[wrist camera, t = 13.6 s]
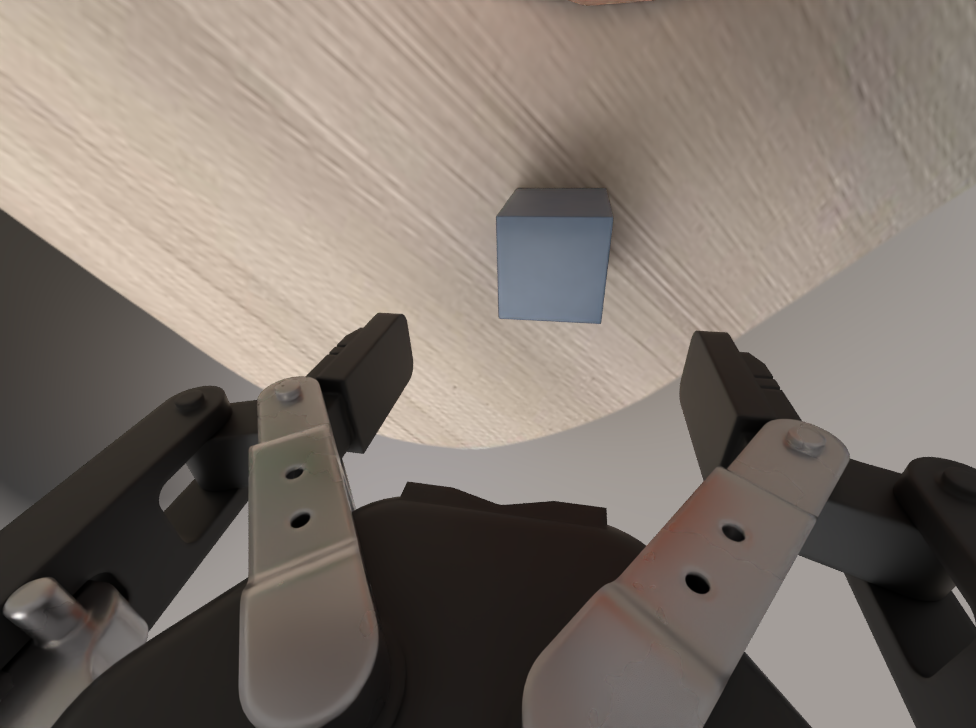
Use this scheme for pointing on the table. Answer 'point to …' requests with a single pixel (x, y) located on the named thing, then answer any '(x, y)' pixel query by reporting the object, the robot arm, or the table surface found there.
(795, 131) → the table surface
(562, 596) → the robot arm
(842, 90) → the table surface
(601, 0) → the bowl
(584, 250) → the block
